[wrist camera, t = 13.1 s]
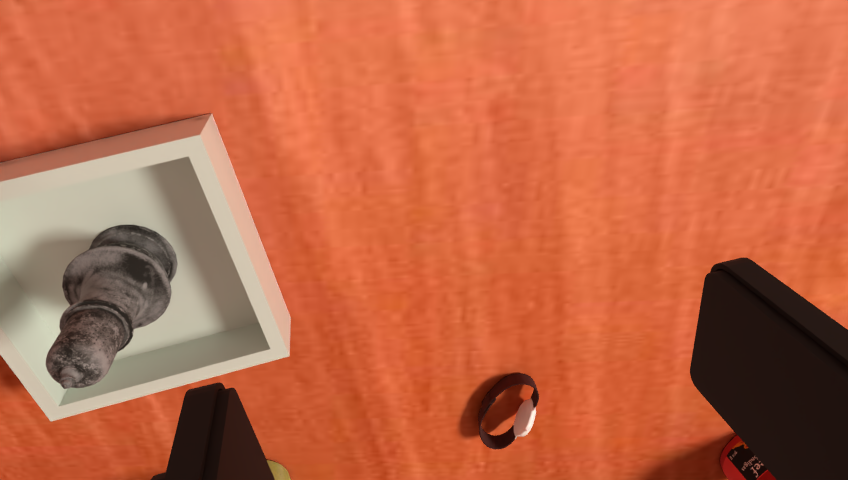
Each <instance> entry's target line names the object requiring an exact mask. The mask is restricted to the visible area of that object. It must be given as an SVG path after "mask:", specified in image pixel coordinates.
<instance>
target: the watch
mask: <svg viewBox="0 0 848 480" xmlns="http://www.w3.org/2000/svg"><path fill="white" fill-rule="evenodd" d="M519 384H525V385H530V386H531V387H533V388H534V391H533V394H532V396H531V398H530V399H528V400H525V401H524V402H523V403H522V404H521V405H520V407H519V409H518V412H517V414H516V417H515V421H514V425H513V426H512V427H511V428H510V429H509V430H508V431H507V432H506V433H504V434H501V435H497V436H493V435H490V434H487V433H486V432H485V431H484V430H483V429H482V427H481V423H482V420H483V418H484V416H485V414H486V412H487V411H488V409H489V408H490V406H491V405H492V404H493V403H494V402H495V400H496V397H497V396H498V395H499V394H500V393H502V392H503V391H504V390H506V389H507V388H509V387H511V386H514V385H519ZM538 400H539V394H538V391H537V388H536V385H535V383H534V381H533V379H532V378H531V377H530V376H528V375H526V374H521V373H517V374H511V375H508V376H506V377H504V378H503V379H501V380H500V381H499V382H498V383H497V384H496V385H495V386H494V387H493V388H492V389H491V390H490V391H489V392H488V394H487V395H486V397H485V398H484V400H483V401H482V407H481V409H480V412H479V417H478V421H479V434H480V437H481V440H482V441H483V443H484V444H485V445H486V446H487V447H489V448H492V449H502V448H505V447H507V446H508V445H510V444H511V443H512V442H513V441H514V440H515V439H516V438H517V436H525V435H527V434H528V432H529V431H530V430H531V428H532V425H533V423H534V419H535V415H536V406H537V403H538Z"/></svg>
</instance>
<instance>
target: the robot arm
mask: <svg viewBox="0 0 848 480" xmlns="http://www.w3.org/2000/svg"><path fill="white" fill-rule="evenodd" d="M690 375H691V378H692V381H693V383H694V385H695V387H696V388H697V389H698V390H699V391H700V393H701V394H702V395H703V396H704V397H705V398H706V400H707V401H708V402H709V403H710V404H711V405H712V406H713V408H714V409H715V410H716V411H717V412H718V413H719V414H720V416H721V417H722V418H723V419H724V420H725V421H726V422H727V424H728V425H729V426H730V427H731V428H732V429H733V430H734V432H735V433H736V434H737V435H738V436H739V437H740V439H741V440H742V441H743V442H744V443H745V444H746V445H747V447H748V448H749V449H750V450H751V451H752V452H753V453H754V455H755V456H756V457H757V458H758V459H759V460H760V461H761V463H762V464H763V465H764V466H765V467H766V468H767V469H768V471H769V472H770V473H771V474H772V475H773V476H774V477H775V479H776V480H848V330H847V329H846V328H844V327H843V326H842V325H840V324H839V323H837V322H836V321H835V320H833V319H832V318H831V317H829V316H828V315H826V314H825V313H824V312H822V311H821V310H819V309H818V308H817V307H815V306H814V305H813V304H811V303H810V302H808V301H807V300H806V299H804V298H803V297H802V296H800V295H799V294H797V293H796V292H795V291H793V290H792V289H791V288H789V287H788V286H786V285H785V284H784V283H782V282H781V281H780V280H778V279H777V278H775V277H774V276H773V275H771V274H770V273H768V272H767V271H766V270H764V269H763V268H762V267H760V266H759V265H757V264H756V263H755V262H753V261H752V260H750V259H748V258H738V259H734V260H730V261H726V262H722V263H718V264H715V265H714V266H713V267H712V269H711V272H710V273H708V274H707V275H706V277H705V281H704V287H703V293H702V299H701V305H700V312H699V318H698V324H697V330H696V336H695V342H694V349H693V355H692V361H691V367H690ZM151 480H275V479H274V476H273V474H272V472H271V469H270V467H269V465H268V462H267V460H266V458H265V456H264V453H263V451H262V449H261V446H260V444H259V442H258V440H257V437H256V435H255V433H254V431H253V428H252V426H251V424H250V421H249V419H248V417H247V415H246V412H245V410H244V408H243V405H242V403H241V401H240V399H239V396H238V394H237V392H236V390H235V389H234V388H229V389H225V387H224V385H223V384H222V383H215V384H211V385H207V386H202V387H198V388H194V389H190V390H188V391H187V392H186V394H185V397H184V401H183V405H182V409H181V413H180V417H179V421H178V426H177V430H176V434H175V438H174V442H173V446H172V450H171V454H170V458H169V462H168V466H167V470H166V472H165V473H161V474H158V475H155V476H153V478H152V479H151Z"/></svg>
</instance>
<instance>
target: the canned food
mask: <svg viewBox="0 0 848 480" xmlns="http://www.w3.org/2000/svg"><path fill="white" fill-rule="evenodd" d="M720 465H721V467H722V470H723V472H724V474H725V475H726V477H727V478H728V479H729V480H776V479H775V477H774V476H773V475H772V474H771V473H770V472H769V471H768V469H767V468H766V467H765V466H764V465H763V464H762V463H761V461H760V460H759V459H758V458H757V457H756V456H755V455H754V453H753V452H752V451H751V450H750V449H749V448H748V447H747V445H746V444H745V443H744V442H743V441H742V440H741V439H740V437H739V436H738V435H736V436H735V437H734V438H733V439H732V440H730V442H729V443H728V444H727V445H726V446H725V448H724V449H723V452H722V454H721V457H720Z"/></svg>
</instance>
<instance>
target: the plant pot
mask: <svg viewBox="0 0 848 480" xmlns="http://www.w3.org/2000/svg"><path fill="white" fill-rule="evenodd" d="M267 462H268V465H269V467H270V469H271V472H272V474H273V476H274V479H275V480H291V479H290V476H289V474H288V471H287V470H286V469H285V468H284V467H283V466H282V465H280V464H279V463H276V462H274V461H270V460H267Z"/></svg>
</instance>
